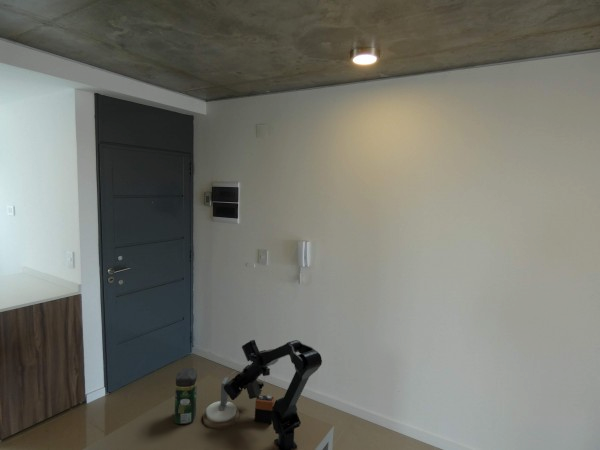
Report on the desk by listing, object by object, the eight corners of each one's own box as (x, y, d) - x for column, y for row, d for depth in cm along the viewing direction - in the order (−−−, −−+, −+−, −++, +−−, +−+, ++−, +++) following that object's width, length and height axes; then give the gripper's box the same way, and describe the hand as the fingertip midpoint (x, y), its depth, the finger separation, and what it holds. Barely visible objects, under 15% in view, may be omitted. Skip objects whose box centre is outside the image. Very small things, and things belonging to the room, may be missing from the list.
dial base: (243, 423, 137) (243, 419, 136) (207, 432, 130) (207, 427, 130) (233, 404, 149) (233, 400, 149) (199, 411, 143) (199, 407, 142)
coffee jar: (176, 410, 142) (178, 366, 141) (196, 409, 143) (198, 365, 142) (172, 426, 133) (173, 378, 131) (193, 424, 134) (195, 377, 133)
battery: (271, 424, 137) (272, 399, 136) (254, 422, 138) (255, 397, 137) (273, 418, 141) (274, 394, 141) (256, 416, 142) (258, 392, 141)
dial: (241, 415, 139) (243, 387, 138) (214, 425, 131) (215, 396, 131) (227, 401, 148) (228, 374, 147) (201, 410, 140) (202, 382, 139)
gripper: (255, 400, 129) (227, 422, 134) (275, 377, 147) (250, 397, 151) (237, 375, 131) (210, 397, 136) (258, 355, 149) (234, 375, 153)
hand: (228, 392), depth 144 cm, fingers closed, pressing on dial
